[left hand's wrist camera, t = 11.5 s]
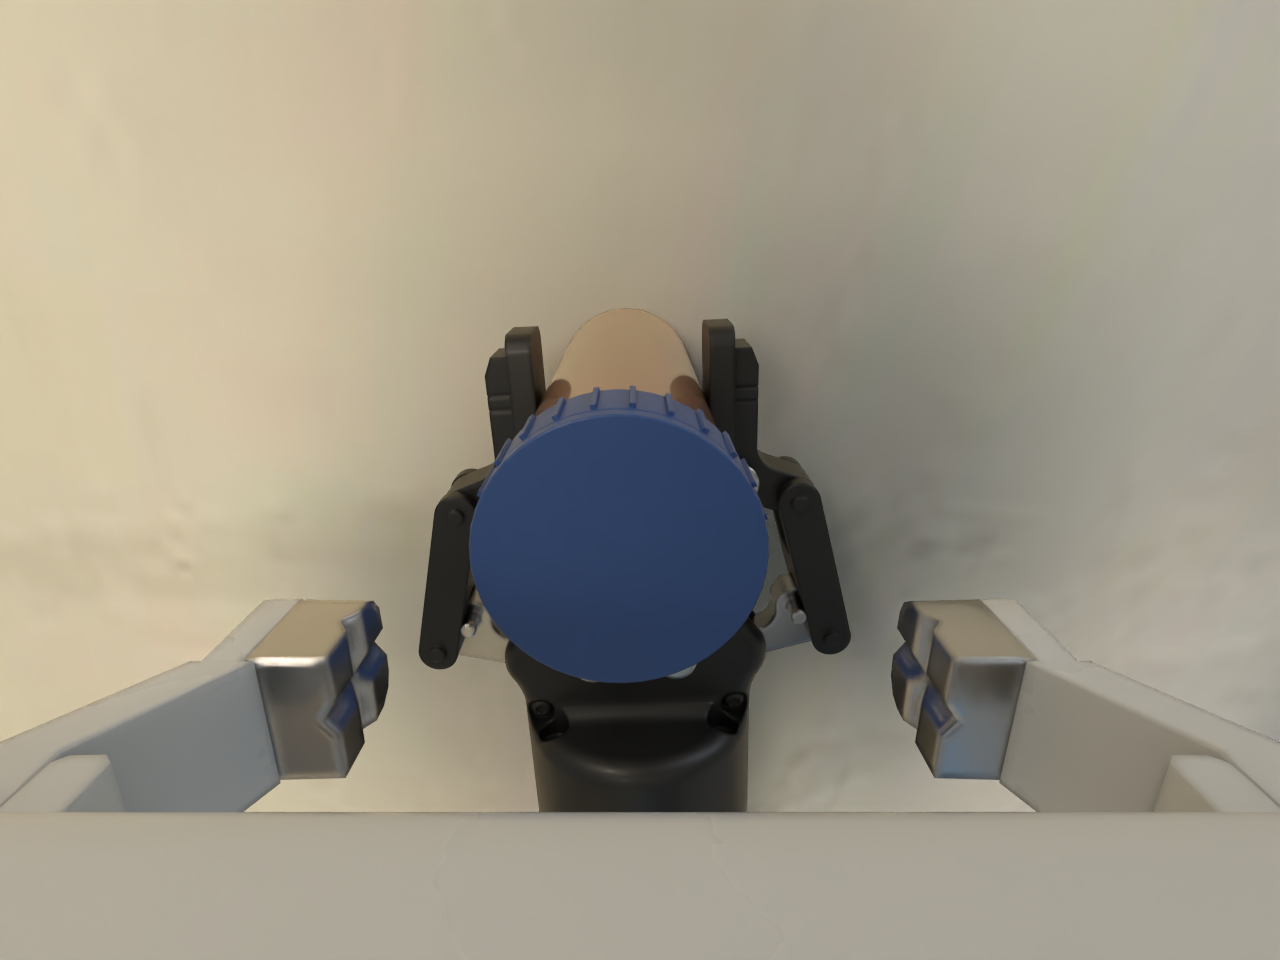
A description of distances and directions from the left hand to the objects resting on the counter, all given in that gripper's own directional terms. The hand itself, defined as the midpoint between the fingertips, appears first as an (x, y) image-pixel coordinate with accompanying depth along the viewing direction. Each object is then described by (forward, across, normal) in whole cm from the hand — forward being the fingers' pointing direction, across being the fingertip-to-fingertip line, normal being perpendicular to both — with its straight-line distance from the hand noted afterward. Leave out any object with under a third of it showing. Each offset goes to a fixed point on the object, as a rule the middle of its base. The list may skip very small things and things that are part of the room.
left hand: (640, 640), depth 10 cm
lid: (+2, 0, 0) cm, 3 cm away
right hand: (+11, +1, -3) cm, 11 cm away
